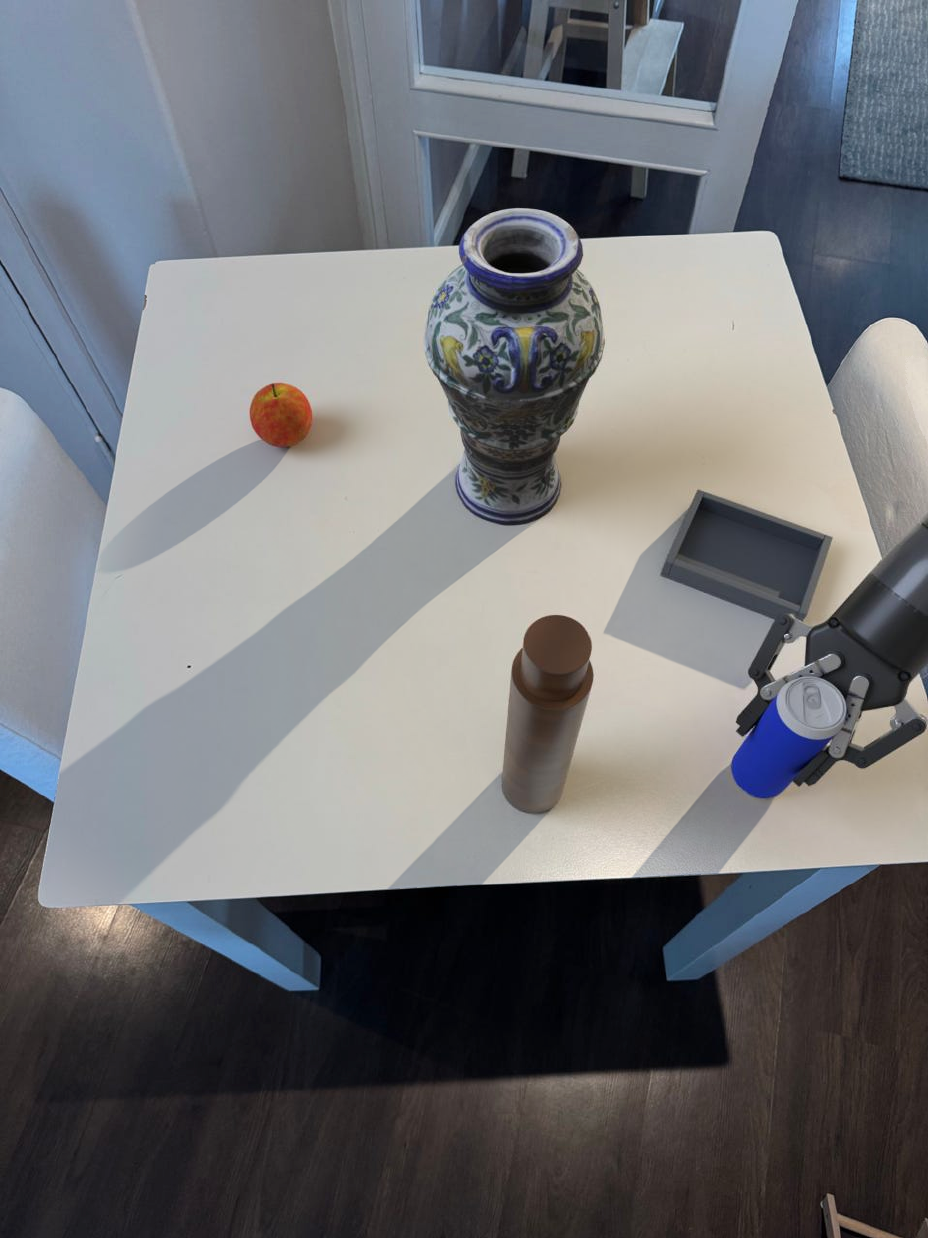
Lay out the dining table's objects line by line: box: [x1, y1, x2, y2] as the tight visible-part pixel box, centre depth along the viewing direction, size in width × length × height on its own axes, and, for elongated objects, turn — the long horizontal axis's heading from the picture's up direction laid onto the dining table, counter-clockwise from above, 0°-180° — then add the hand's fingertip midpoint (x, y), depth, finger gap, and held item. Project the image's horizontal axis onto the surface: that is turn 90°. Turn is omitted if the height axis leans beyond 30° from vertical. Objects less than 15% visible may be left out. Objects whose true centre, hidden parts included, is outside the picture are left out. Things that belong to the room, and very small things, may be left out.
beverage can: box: [730, 676, 846, 799], centre depth 70 cm, size 5×5×15 cm
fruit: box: [249, 382, 313, 448], centre depth 94 cm, size 7×7×8 cm
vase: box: [423, 207, 606, 526], centre depth 81 cm, size 17×17×30 cm
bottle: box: [501, 614, 594, 815], centre depth 65 cm, size 6×6×26 cm
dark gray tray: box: [660, 488, 834, 622], centre depth 87 cm, size 15×11×3 cm
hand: (769, 756), depth 69 cm, fingers closed on beverage can, 5 cm apart
